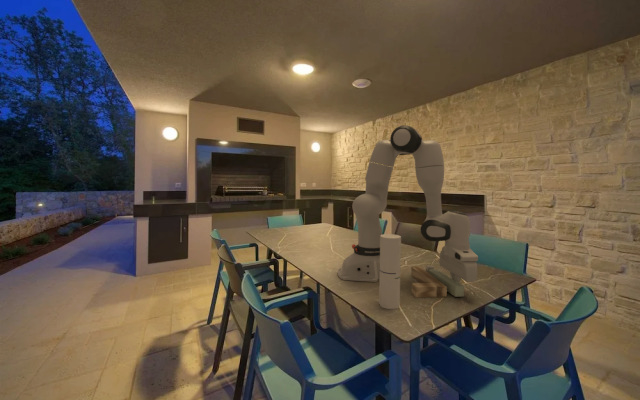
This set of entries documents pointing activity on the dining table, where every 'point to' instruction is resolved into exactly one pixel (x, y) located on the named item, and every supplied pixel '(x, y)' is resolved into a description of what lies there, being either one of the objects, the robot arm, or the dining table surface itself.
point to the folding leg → (446, 281)
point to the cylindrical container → (390, 271)
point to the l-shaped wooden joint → (426, 284)
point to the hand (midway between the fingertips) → (455, 284)
